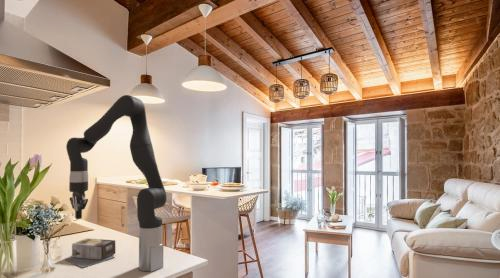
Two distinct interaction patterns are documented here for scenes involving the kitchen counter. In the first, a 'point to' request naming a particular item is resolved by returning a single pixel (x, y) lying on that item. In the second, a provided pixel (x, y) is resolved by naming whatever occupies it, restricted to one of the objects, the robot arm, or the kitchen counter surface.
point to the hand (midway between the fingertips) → (78, 218)
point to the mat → (86, 261)
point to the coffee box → (93, 249)
